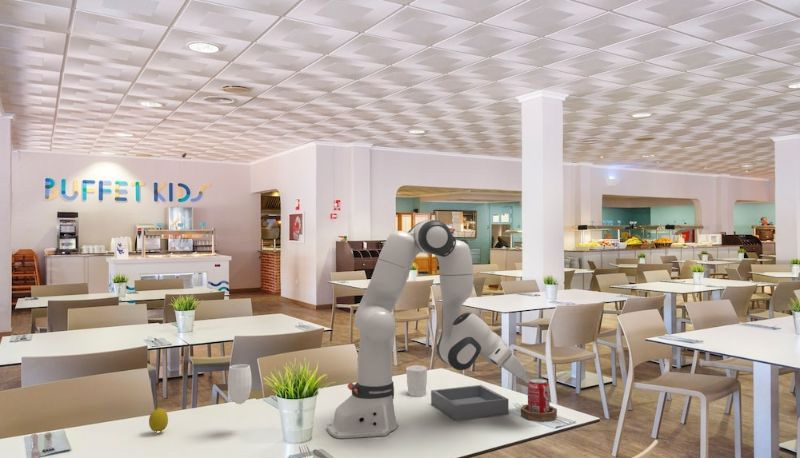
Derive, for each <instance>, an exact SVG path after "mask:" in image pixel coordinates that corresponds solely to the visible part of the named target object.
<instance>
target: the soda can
mask: <svg viewBox="0 0 800 458" xmlns="http://www.w3.org/2000/svg"><path fill="white" fill-rule="evenodd" d="M527 384H528V385H527V405H528V411H529V412H535V413H547V412H549V410H550V406H551V405H550V402H551V401H550V385H549V383H548V380H547V379H545V378H541V377H540V378H537V377H535V378H530V382H529V383H527Z"/></svg>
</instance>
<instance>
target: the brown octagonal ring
mask: <svg viewBox="0 0 800 458" xmlns="http://www.w3.org/2000/svg"><path fill="white" fill-rule="evenodd" d="M557 413H558V409H557V408H555V407H554V406H552V405H550V410H549V412H547V413H535V412H529V411H528V404H524V405H523V406H521V408H520V417H521V418H523V419H525V420H527V421H533V422H538V423H545V422H544V421H546V422H552V421H551V420H553V421H555V420H556V418H557V417H558V414H557ZM556 416H557V417H556ZM554 419H555V420H554Z"/></svg>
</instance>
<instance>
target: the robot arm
mask: <svg viewBox="0 0 800 458" xmlns="http://www.w3.org/2000/svg"><path fill="white" fill-rule="evenodd" d="M420 253H423V254H427V255H434V256H435V257H436V259H437V261H438V265H439V268H438V269H439V272H438V273H439V286H440V287H439V288H440V295H441V334H440V337H439V340H438V342H437V345H436V354H437V355H438V358H439V359H440V360H441V361H442V362H443V363H444V364H447V365H448V366H449V367H452V368H453V369H455V370H456V371H465V370H469V368H471V367H472V366H473V365H474V363H475V362H476V360H477V359H478V357H479V356H480V357H482V358H483V359H484V360H485V362H486V363H488V364H489V365H490V364H491V365H492V364H493V365H497V366H499V367H501V368H503V369H504V370H505V371H506V372H507V371H508V373H510V374H512V375H513V376H515V377H516V378H517V379H519V380H520V379H521V380H522V381H524V382H525V383H526V384H529V382H530V379H531V378H530V377H529V376H528V375H527V374H526V373H527V369H526V367H525V366H524V364H522V362H521V361H520V360H519V359H518V358H517V357H516V356H515V355H514V354H513V350H512V349H511V348H510V347H509V345H508V344H507V342H506V341H505V340H504V339H503V338H502V337H501V336H499V335H498V333H496V332H494V331H493V330H492V329H491V328H490V327H489V325H488V324H487V323H486V322H485V321H484V320H483V319H481V318H480V317H479V316H478V315H476V314H475V313H474V312H464V313H463V314H461V311H462V307H463V305H464V304H465V302H466V301H467V300H468V299H469V298H470V297H471V296H472V294H473V288H474V266H473V259H472V254H471V249H470V246H469V245H468V243H466V242H465V241H462V240H459V239H456V238H455V236H454V235H453V233H452V231H451V229H450V228H449V226H448V225H447V224H446V223H444V222H443V221H441V220H437V219H426V220H422V221H420V222H418V223H416V224H415V225H414V226H413V227H412V228H410V230H408V231H405V230H395V231H393V232H391V233H390V234H388V237H387V238H386V240H385V242H384V244H383V246H382V248H381V250H380V253H379V256H378V259H377V262H376V264H375V266H374V270H373V272H372V275H371V279H370V280H369V283H368V286H367V287H366V289H365V291H364V293H363V295H362V298H361V300H360V303H359V304H358V307H357V309H356V311H355V314H354V325H355V327H356V329H357V330H358V331H359V344H358V353H357V359H356V360H357V382H356V383H353V382H349V383H348V384H347V388H348V389H349V390H350V391H351V395H350V396H349V397H347V399H345V400H344V401H343V402H342V403H341V404H339V405H338V406H337V407H336V408H335V411H334V417H333V421H330V422H328V423H327V425H326V431H327V432H328V434H329V435H330V436H331V437H334V438H337V439H351V438H352V439H354V438H369V437H385V436H387V435H389V434H390V433H391V432H392V431H394V430H396V429H397V428H398V426H399V425H398V421H397V417H396V413H395V412H396V411H395V407H394V397H395V386H394V381H393V351H394V346H395V345H394V344H395V333H396V328H397V326H396V319H395V317H394V314H393V310H394V308H395V306H396V304H397V303H398V300H399V298H401V295H402V294H403V292H404V290H405V287H406V284H407V281H408V278H409V277H410V276H409V275H410V272H411V269H412V266H413V263H414V261H415V258H416V257H417V256H418V255H419V254H420Z"/></svg>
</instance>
